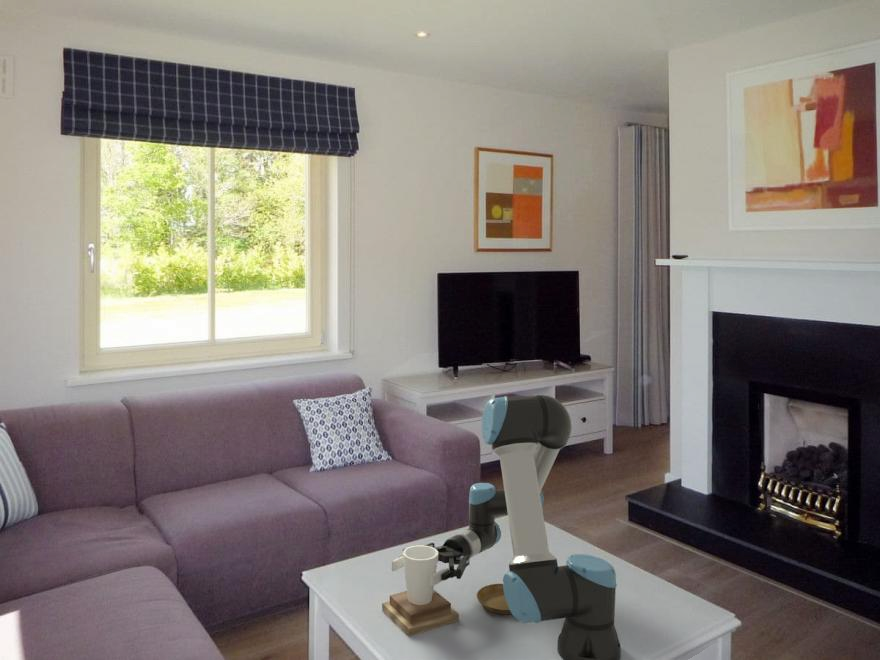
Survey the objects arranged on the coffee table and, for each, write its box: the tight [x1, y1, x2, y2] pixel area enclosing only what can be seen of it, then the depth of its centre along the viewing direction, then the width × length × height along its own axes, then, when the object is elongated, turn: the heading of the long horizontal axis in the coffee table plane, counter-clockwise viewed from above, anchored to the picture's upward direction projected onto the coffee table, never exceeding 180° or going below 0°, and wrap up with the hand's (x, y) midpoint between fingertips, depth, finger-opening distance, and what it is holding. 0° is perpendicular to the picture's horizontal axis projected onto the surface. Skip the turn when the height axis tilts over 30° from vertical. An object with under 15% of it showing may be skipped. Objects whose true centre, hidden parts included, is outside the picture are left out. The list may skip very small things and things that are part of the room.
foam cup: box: [402, 544, 439, 605], centre depth 193 cm, size 10×9×13 cm
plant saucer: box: [476, 583, 512, 615], centre depth 200 cm, size 15×15×3 cm
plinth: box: [381, 588, 460, 637], centre depth 194 cm, size 15×15×4 cm
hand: (411, 573), depth 190 cm, fingers open, 13 cm apart
